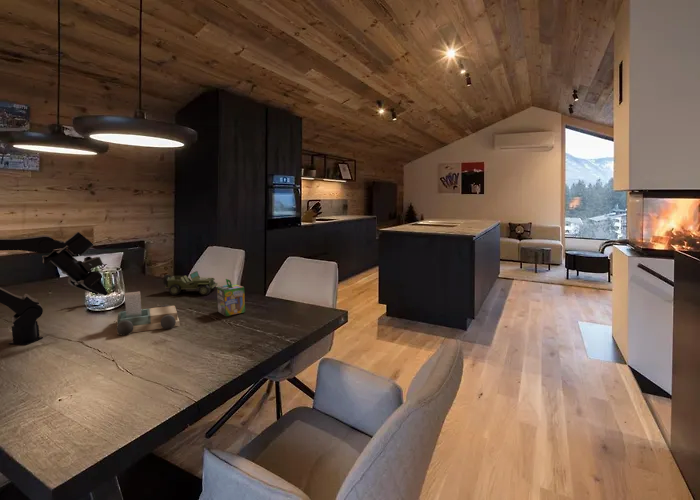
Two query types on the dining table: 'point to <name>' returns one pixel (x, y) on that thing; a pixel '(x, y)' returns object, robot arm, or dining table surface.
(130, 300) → the block
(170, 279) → the toy jeep
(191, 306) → the dining table surface
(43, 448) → the dining table surface
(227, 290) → the chalk box
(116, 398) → the dining table surface
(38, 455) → the dining table surface
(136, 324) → the chassis
